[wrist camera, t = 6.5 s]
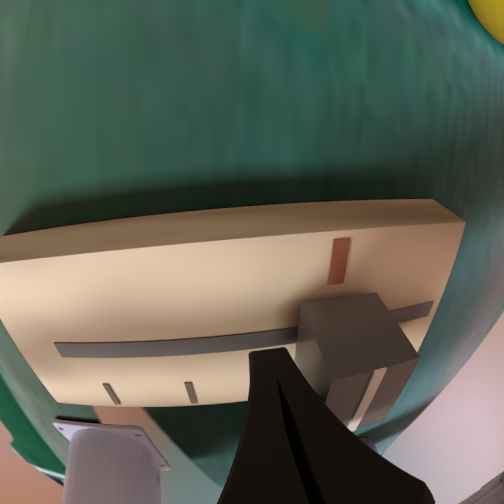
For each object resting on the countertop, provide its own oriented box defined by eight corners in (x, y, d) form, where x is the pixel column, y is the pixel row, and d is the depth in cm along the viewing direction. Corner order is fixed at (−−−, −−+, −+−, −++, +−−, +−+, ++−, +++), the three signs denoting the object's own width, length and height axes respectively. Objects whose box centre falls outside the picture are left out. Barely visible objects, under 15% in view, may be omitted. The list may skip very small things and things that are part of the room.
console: (392, 336, 17) (411, 366, 15) (67, 369, 15) (57, 403, 13) (432, 199, 13) (467, 223, 10) (2, 236, 10) (-27, 267, 8)
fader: (355, 360, 13) (384, 421, 10) (292, 372, 13) (313, 441, 10) (376, 291, 11) (421, 358, 8) (300, 302, 11) (333, 382, 8)
